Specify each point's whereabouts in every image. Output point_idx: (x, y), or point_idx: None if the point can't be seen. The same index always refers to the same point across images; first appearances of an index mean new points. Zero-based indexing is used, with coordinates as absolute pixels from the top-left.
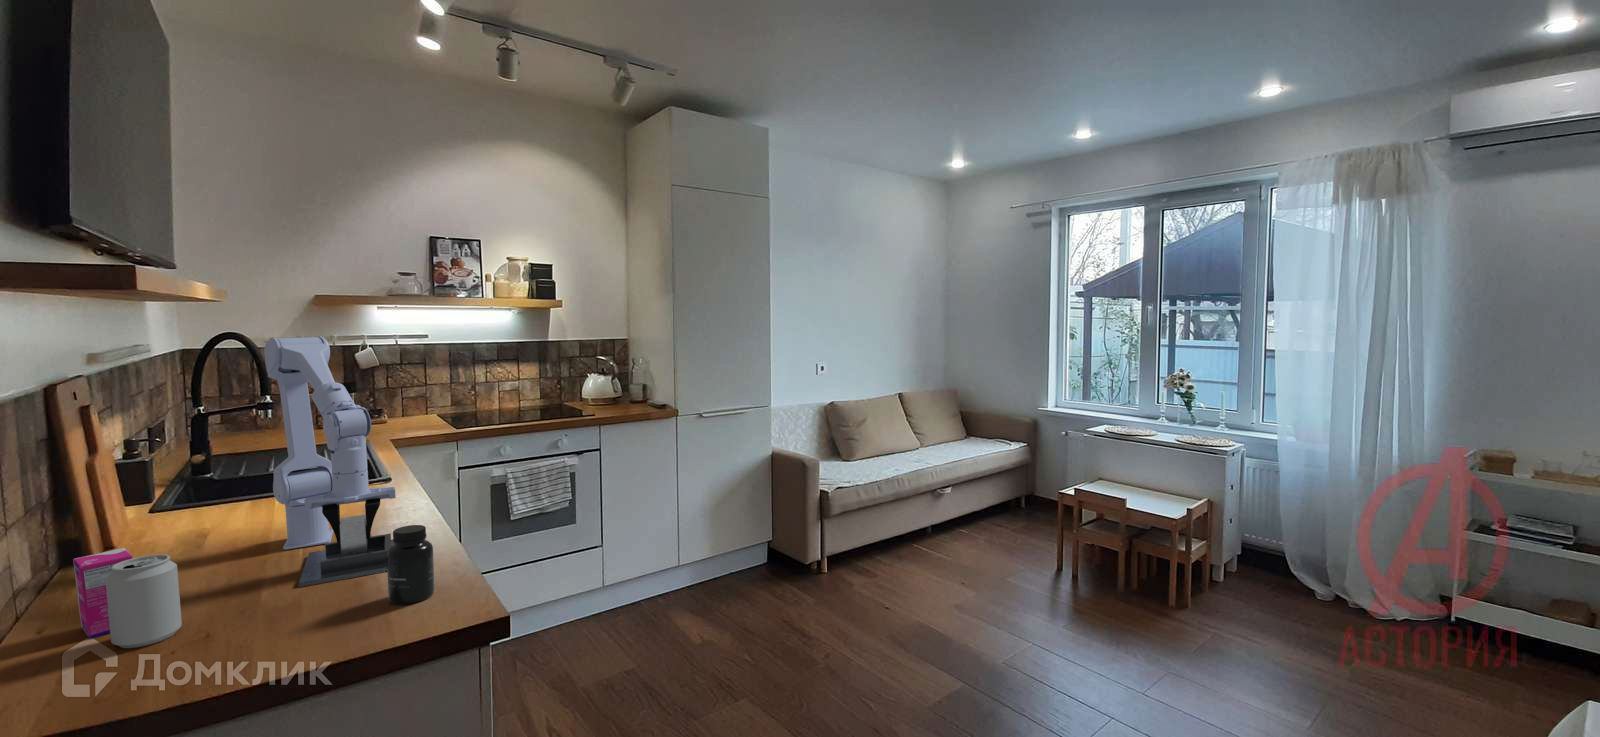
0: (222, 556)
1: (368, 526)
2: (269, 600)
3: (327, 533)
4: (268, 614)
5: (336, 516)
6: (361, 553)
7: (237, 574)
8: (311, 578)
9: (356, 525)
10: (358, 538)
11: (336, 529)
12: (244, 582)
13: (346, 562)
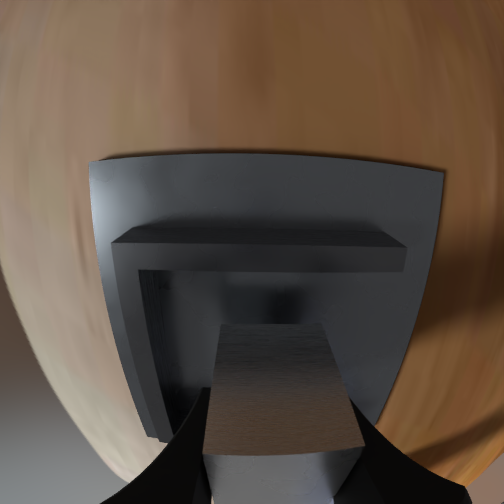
0: (454, 449)
1: (194, 430)
2: (482, 111)
3: None
4: (460, 8)
5: (390, 495)
6: None
7: (485, 367)
8: (412, 195)
9: (259, 434)
10: (251, 369)
11: (363, 433)
12: (498, 309)
13: (304, 237)
